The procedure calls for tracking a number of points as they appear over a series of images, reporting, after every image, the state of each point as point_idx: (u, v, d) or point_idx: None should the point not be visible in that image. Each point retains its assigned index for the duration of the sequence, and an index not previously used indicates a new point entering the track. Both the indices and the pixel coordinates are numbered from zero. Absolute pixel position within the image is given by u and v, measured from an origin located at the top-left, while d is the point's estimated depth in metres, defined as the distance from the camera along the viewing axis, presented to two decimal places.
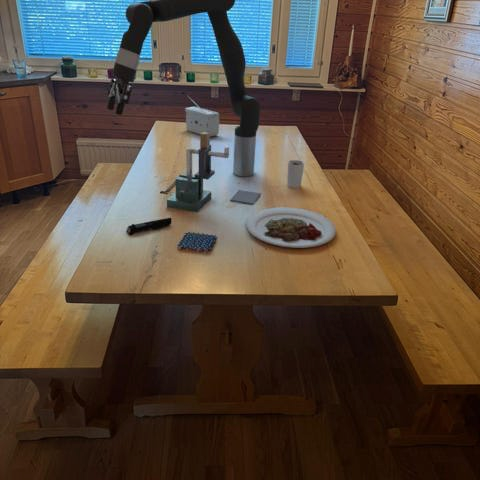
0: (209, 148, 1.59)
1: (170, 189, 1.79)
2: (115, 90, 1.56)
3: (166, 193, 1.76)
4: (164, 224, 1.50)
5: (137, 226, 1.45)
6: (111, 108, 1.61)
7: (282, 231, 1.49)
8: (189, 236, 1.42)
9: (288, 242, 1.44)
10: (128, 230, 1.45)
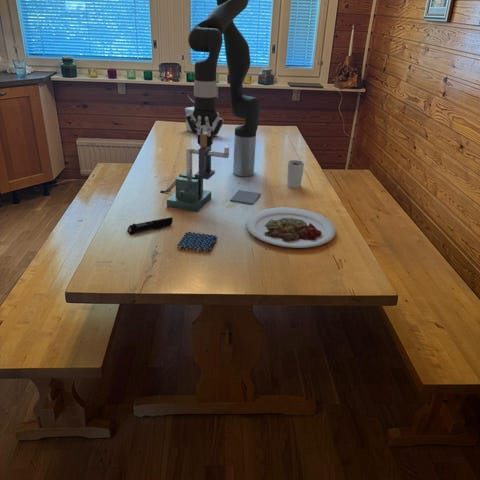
0: (209, 148, 1.59)
1: (170, 189, 1.80)
2: (204, 121, 1.52)
3: (166, 193, 1.76)
4: (165, 224, 1.50)
5: (138, 226, 1.46)
6: None
7: (282, 231, 1.49)
8: (189, 236, 1.42)
9: (288, 242, 1.44)
10: (129, 230, 1.45)
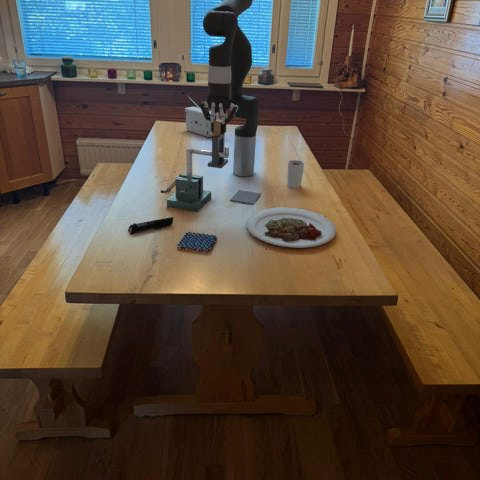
0: (222, 136, 1.56)
1: (170, 188, 1.80)
2: (218, 108, 1.49)
3: (166, 192, 1.77)
4: (166, 224, 1.50)
5: (139, 225, 1.46)
6: None
7: (282, 231, 1.49)
8: (189, 236, 1.42)
9: (288, 242, 1.44)
10: (130, 229, 1.46)
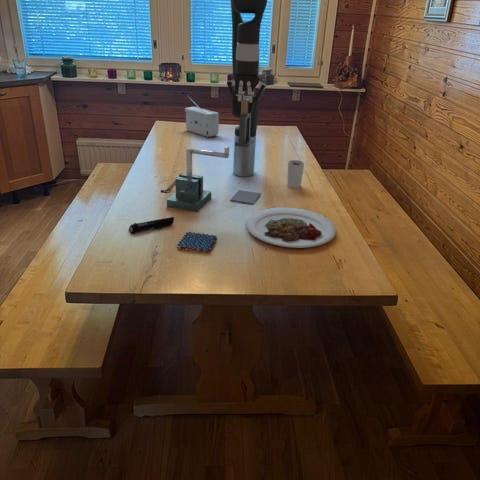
0: (249, 115, 1.56)
1: (171, 188, 1.80)
2: (245, 86, 1.49)
3: (167, 192, 1.77)
4: (166, 223, 1.50)
5: (139, 225, 1.46)
6: None
7: (282, 231, 1.49)
8: (189, 236, 1.42)
9: (288, 242, 1.44)
10: (130, 229, 1.46)
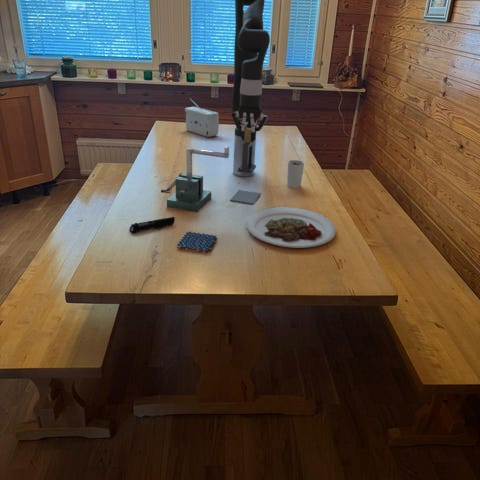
0: (252, 143, 1.67)
1: (170, 188, 1.81)
2: (249, 117, 1.61)
3: (167, 192, 1.77)
4: (167, 223, 1.50)
5: (140, 225, 1.46)
6: None
7: (282, 231, 1.49)
8: (189, 236, 1.42)
9: (288, 242, 1.44)
10: (131, 229, 1.46)
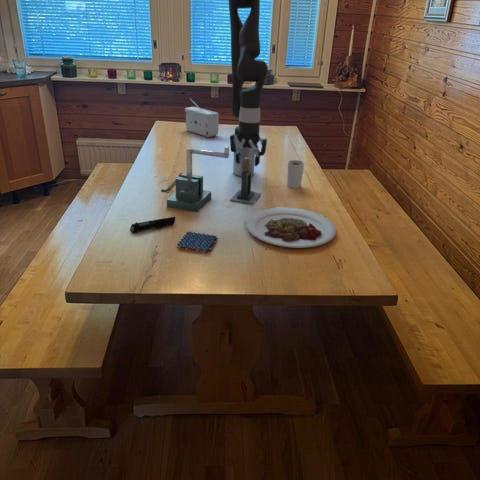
0: (250, 171, 1.72)
1: (171, 187, 1.81)
2: (246, 144, 1.65)
3: None
4: (168, 223, 1.50)
5: (141, 225, 1.46)
6: (239, 161, 1.70)
7: (282, 231, 1.49)
8: (190, 236, 1.42)
9: (288, 242, 1.44)
10: (132, 228, 1.46)
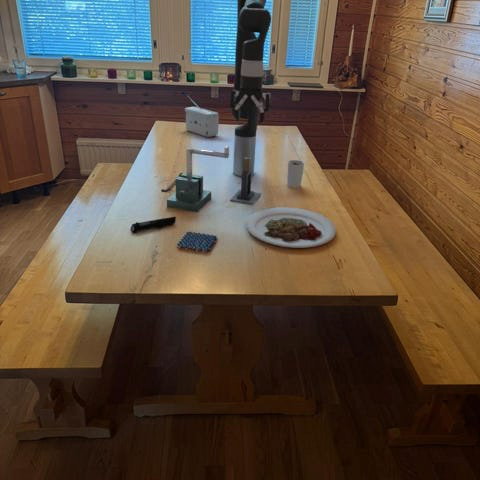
0: (250, 171, 1.72)
1: (171, 187, 1.81)
2: (247, 101, 1.58)
3: (167, 191, 1.78)
4: (168, 223, 1.50)
5: (141, 224, 1.47)
6: (239, 118, 1.63)
7: (282, 231, 1.49)
8: (190, 236, 1.43)
9: (288, 242, 1.44)
10: (132, 228, 1.46)
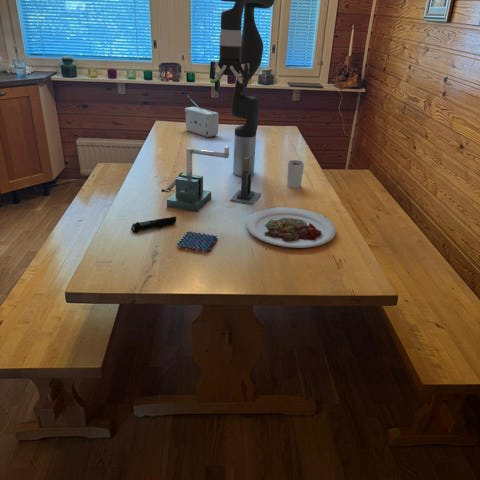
0: (250, 171, 1.72)
1: (171, 187, 1.81)
2: (226, 72, 1.59)
3: (167, 191, 1.78)
4: (168, 223, 1.51)
5: (141, 224, 1.47)
6: (219, 90, 1.64)
7: (282, 231, 1.49)
8: (190, 236, 1.43)
9: (288, 242, 1.44)
10: (132, 228, 1.47)
